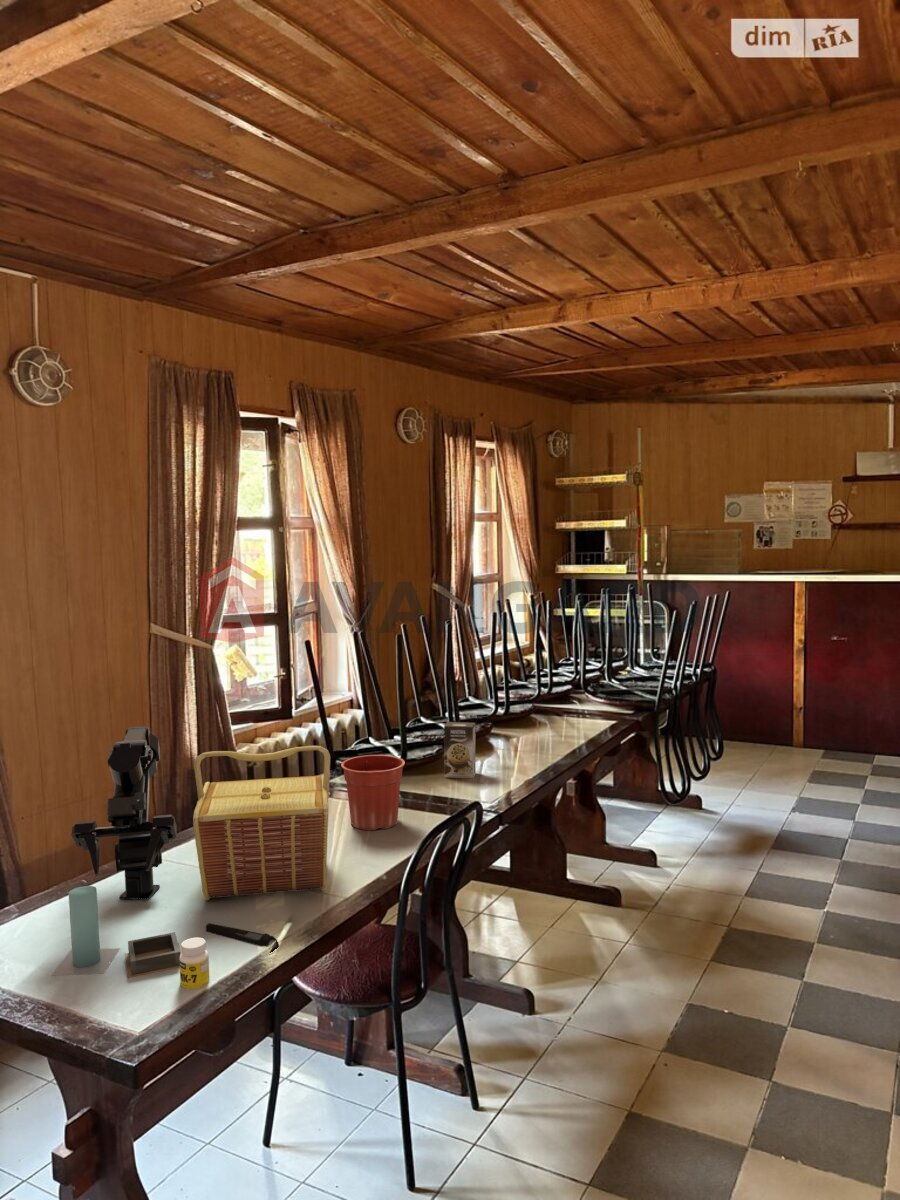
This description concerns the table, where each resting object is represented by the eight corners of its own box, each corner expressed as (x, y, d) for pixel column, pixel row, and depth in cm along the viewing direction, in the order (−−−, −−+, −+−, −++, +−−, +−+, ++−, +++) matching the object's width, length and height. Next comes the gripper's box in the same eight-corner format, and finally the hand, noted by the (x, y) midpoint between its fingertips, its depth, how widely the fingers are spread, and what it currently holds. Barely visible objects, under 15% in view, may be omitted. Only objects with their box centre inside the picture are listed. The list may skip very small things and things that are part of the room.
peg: (87, 953, 161) (83, 884, 160) (106, 957, 159) (102, 888, 158) (66, 964, 157) (62, 894, 156) (86, 970, 155) (81, 898, 154)
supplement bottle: (174, 994, 150) (172, 946, 149) (192, 980, 154) (190, 934, 153) (198, 999, 148) (196, 951, 147) (215, 985, 152) (213, 938, 151)
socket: (125, 961, 161) (124, 940, 161) (179, 950, 165) (178, 930, 164) (128, 986, 152) (127, 964, 152) (185, 974, 156) (183, 952, 156)
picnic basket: (191, 913, 181) (184, 769, 178) (206, 864, 206) (200, 738, 203) (336, 900, 185) (331, 760, 182) (332, 854, 211) (328, 731, 208)
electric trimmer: (215, 934, 172) (214, 918, 172) (280, 948, 166) (279, 931, 165) (202, 942, 169) (201, 926, 169) (268, 957, 162) (267, 940, 162)
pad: (70, 958, 163) (70, 950, 163) (120, 956, 163) (120, 948, 163) (51, 983, 154) (51, 975, 154) (104, 981, 154) (103, 973, 154)
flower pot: (397, 809, 242) (395, 751, 241) (413, 829, 227) (412, 767, 225) (337, 816, 237) (335, 758, 236) (350, 837, 222) (348, 774, 220)
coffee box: (444, 777, 271) (442, 726, 270) (447, 771, 277) (446, 721, 276) (473, 778, 269) (472, 726, 268) (476, 772, 276) (475, 721, 274)
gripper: (70, 781, 169) (60, 859, 160) (172, 774, 173) (168, 849, 163) (81, 808, 178) (72, 883, 168) (178, 801, 181) (175, 874, 172)
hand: (121, 872), depth 168 cm, fingers open, 9 cm apart
